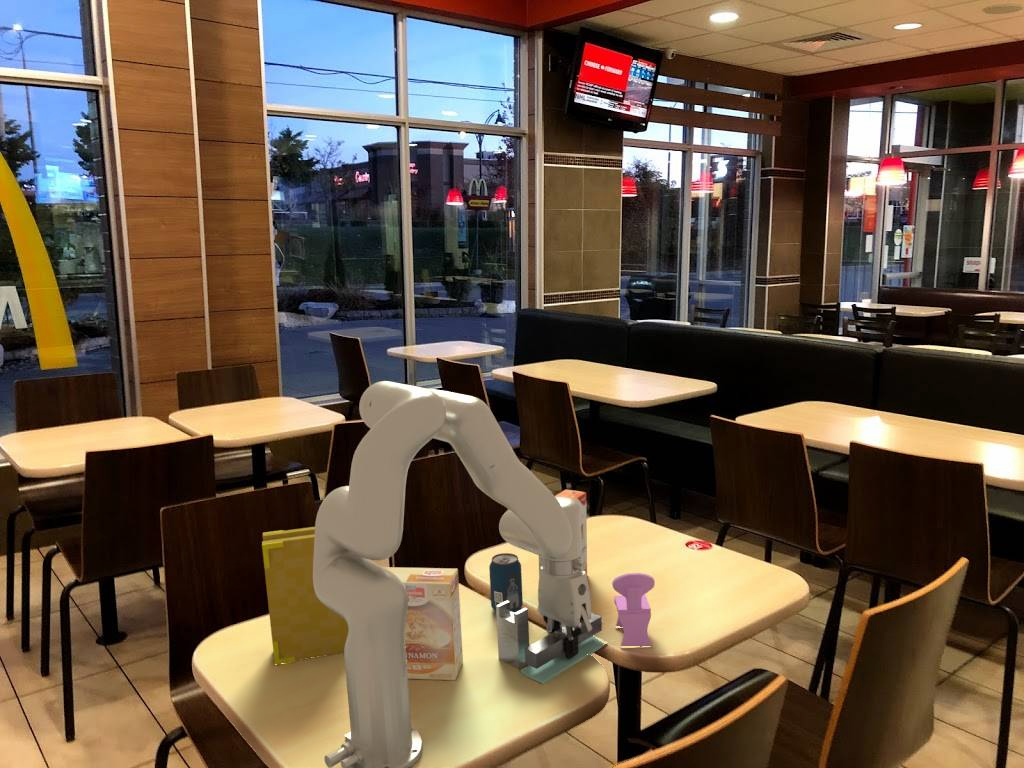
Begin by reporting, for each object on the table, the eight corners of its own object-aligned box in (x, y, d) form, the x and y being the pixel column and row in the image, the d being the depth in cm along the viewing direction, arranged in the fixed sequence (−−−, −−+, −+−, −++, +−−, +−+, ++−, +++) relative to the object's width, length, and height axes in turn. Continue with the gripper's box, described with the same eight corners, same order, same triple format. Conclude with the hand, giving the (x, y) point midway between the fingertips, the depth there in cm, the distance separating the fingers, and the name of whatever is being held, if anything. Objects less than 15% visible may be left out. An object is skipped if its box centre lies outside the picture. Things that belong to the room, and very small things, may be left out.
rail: (536, 668, 147) (536, 653, 146) (525, 663, 149) (524, 648, 148) (601, 630, 160) (601, 616, 159) (590, 625, 162) (589, 611, 161)
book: (274, 665, 157) (261, 544, 152) (275, 649, 163) (262, 532, 158) (362, 650, 161) (352, 532, 156) (359, 635, 167) (349, 521, 163)
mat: (542, 684, 146) (542, 681, 146) (520, 673, 150) (520, 670, 150) (607, 643, 159) (607, 641, 159) (585, 634, 163) (585, 632, 163)
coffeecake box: (378, 678, 150) (370, 581, 147) (389, 658, 157) (381, 565, 154) (456, 681, 148) (450, 583, 145) (463, 661, 155) (458, 566, 152)
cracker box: (561, 598, 180) (559, 509, 176) (538, 593, 183) (535, 505, 179) (589, 574, 192) (587, 491, 188) (567, 570, 195) (564, 487, 191)
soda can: (502, 600, 180) (499, 549, 178) (528, 606, 177) (526, 555, 175) (485, 613, 175) (482, 561, 172) (512, 619, 171) (510, 567, 169)
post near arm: (519, 668, 152) (516, 614, 150) (498, 658, 156) (496, 605, 154) (530, 662, 154) (527, 608, 152) (509, 652, 158) (507, 600, 156)
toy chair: (649, 625, 166) (649, 557, 163) (657, 647, 157) (656, 576, 155) (609, 627, 166) (608, 559, 163) (615, 649, 157) (613, 577, 155)
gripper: (608, 568, 148) (610, 659, 151) (543, 546, 159) (546, 632, 163) (582, 581, 143) (584, 676, 146) (517, 558, 154) (520, 646, 158)
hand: (564, 652), depth 154 cm, fingers closed on rail, 3 cm apart
